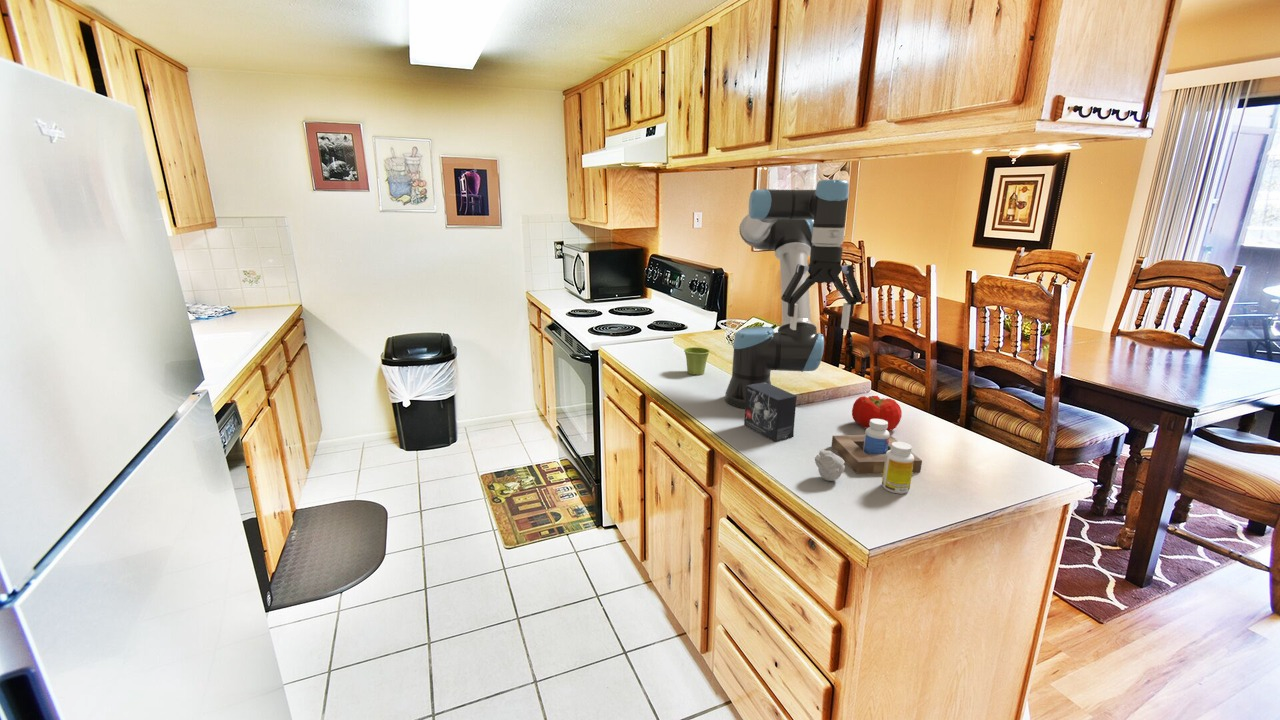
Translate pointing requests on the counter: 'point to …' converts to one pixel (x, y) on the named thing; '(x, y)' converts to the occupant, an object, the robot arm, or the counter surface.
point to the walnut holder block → (864, 454)
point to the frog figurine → (829, 465)
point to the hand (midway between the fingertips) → (818, 329)
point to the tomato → (876, 411)
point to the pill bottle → (876, 437)
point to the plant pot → (696, 360)
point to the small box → (770, 411)
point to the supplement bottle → (898, 468)
